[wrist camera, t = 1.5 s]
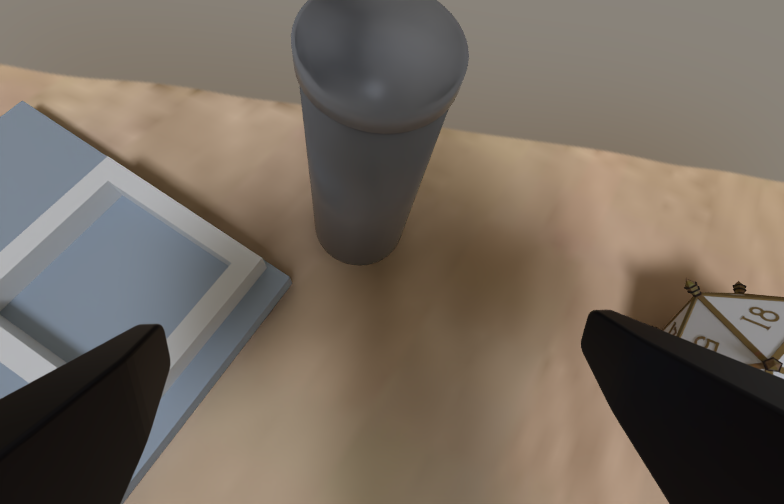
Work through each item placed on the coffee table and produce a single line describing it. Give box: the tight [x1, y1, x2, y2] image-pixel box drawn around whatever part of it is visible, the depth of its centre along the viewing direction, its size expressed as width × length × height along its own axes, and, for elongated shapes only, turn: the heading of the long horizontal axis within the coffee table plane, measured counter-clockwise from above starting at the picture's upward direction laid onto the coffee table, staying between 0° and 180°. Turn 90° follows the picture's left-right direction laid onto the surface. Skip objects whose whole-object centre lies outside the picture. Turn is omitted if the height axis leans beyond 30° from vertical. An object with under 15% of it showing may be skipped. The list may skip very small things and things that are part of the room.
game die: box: [652, 279, 784, 379], centre depth 20 cm, size 9×8×10 cm
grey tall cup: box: [291, 0, 469, 265], centre depth 18 cm, size 5×5×13 cm
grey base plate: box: [0, 101, 292, 504], centre depth 19 cm, size 18×16×3 cm
